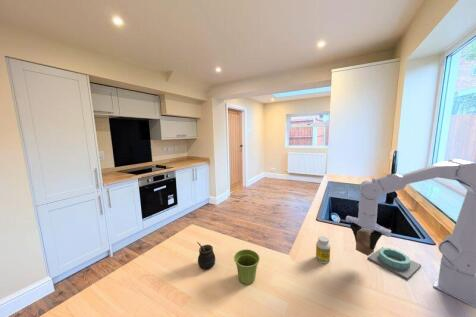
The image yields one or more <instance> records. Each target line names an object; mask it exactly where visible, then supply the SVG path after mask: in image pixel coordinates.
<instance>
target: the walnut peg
mask: <svg viewBox="0 0 476 317" xmlns="http://www.w3.org/2000/svg"><path fill="white" fill-rule="evenodd" d="M372 232H373V230H370V229H367V228H364V227H362V228H361V229H360V230H358V231H357V237H356V241H355V250H356V251H357V252H359V253H362V254H363V255H365V256H367V257H369V256H370V255H372V254H373V253H375V248H374V249H373V250H372V249H371V248H370V246H371V235H370V233H372Z"/></svg>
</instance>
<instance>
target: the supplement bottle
mask: <svg viewBox="0 0 476 317" xmlns="http://www.w3.org/2000/svg"><path fill="white" fill-rule="evenodd" d="M329 242H330V239H329V238H328V237H326V236H322V235H319V236H318V238H317V241H316V244H315V249H316V250H315V258H316V261H317V262H319V263H321V264H329V263H330V260H331V258H330V257H331V244H330V243H329Z"/></svg>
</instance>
